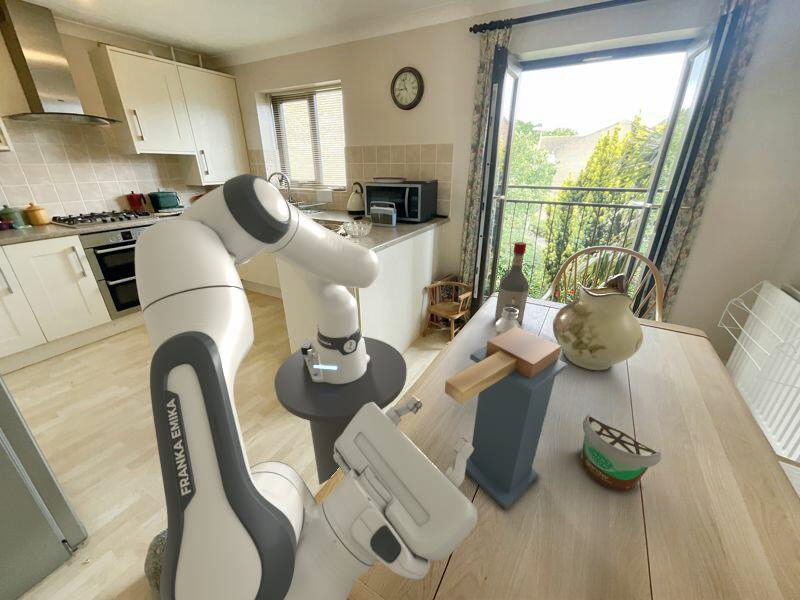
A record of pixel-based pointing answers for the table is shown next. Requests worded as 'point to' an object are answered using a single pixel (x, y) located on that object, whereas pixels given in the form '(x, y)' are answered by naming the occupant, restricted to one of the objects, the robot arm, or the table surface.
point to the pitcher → (599, 326)
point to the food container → (614, 456)
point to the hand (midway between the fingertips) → (441, 419)
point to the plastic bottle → (506, 321)
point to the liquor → (513, 286)
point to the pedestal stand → (509, 430)
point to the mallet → (504, 362)
